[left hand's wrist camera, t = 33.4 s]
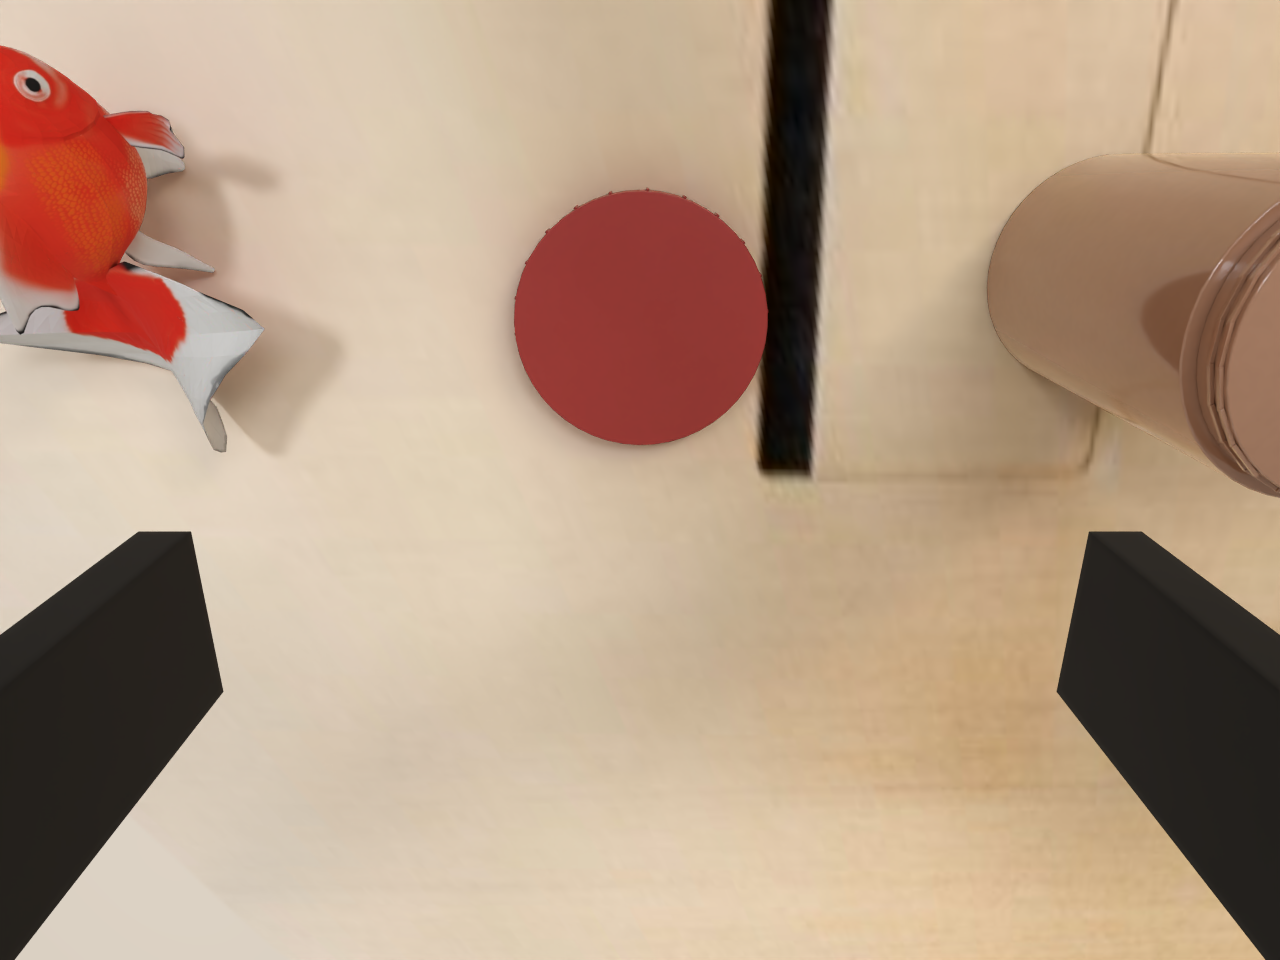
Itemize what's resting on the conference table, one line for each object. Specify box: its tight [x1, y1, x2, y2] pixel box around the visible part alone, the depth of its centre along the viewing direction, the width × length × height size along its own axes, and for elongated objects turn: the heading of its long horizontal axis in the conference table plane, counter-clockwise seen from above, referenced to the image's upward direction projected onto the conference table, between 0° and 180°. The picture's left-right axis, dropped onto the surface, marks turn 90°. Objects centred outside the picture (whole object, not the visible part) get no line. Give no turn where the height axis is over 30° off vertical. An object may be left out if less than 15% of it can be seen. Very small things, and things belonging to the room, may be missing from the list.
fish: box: [0, 46, 264, 452], centre depth 33 cm, size 11×16×10 cm
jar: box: [987, 152, 1280, 498], centre depth 30 cm, size 10×10×16 cm
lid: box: [514, 188, 768, 445], centre depth 37 cm, size 11×11×2 cm
